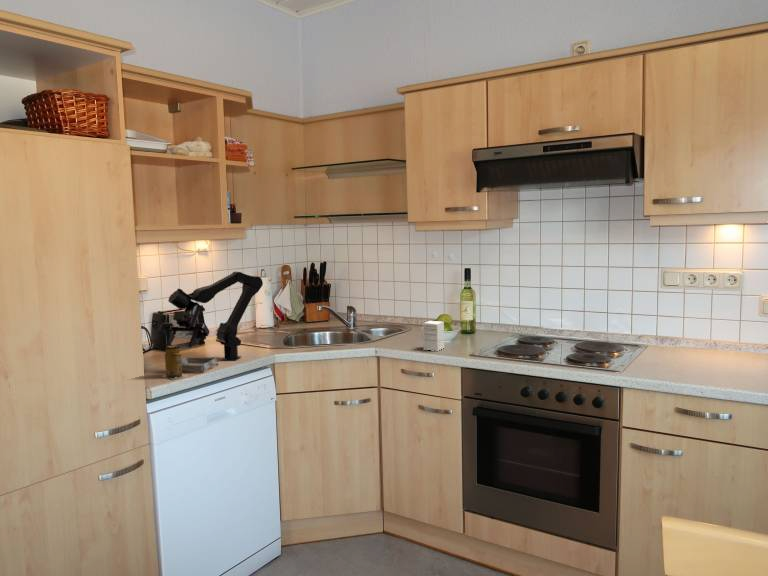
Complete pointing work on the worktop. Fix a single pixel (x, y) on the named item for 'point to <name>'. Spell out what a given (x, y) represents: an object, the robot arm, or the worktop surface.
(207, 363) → the grey square frame
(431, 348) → the supplement box
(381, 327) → the worktop surface
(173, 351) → the condiment
